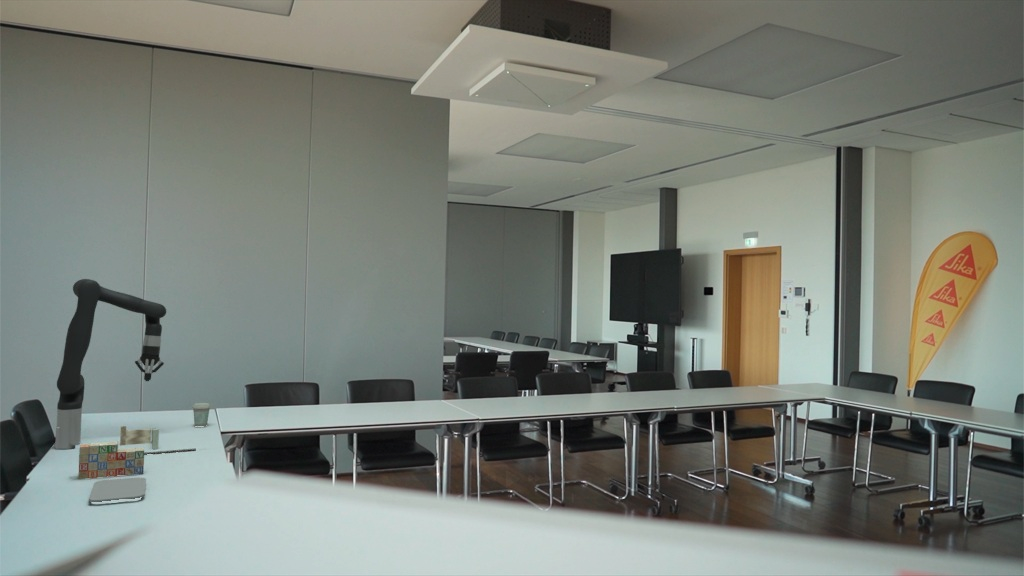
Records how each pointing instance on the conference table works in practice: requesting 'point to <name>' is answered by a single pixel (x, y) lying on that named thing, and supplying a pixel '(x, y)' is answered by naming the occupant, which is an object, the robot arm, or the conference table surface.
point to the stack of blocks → (109, 460)
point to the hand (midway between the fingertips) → (147, 381)
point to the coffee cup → (201, 413)
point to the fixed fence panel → (134, 436)
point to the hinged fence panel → (155, 438)
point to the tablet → (118, 489)
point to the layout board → (170, 451)
